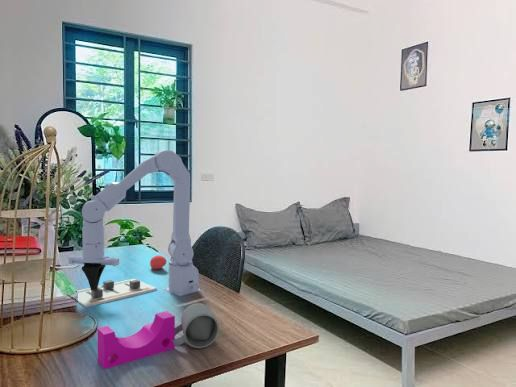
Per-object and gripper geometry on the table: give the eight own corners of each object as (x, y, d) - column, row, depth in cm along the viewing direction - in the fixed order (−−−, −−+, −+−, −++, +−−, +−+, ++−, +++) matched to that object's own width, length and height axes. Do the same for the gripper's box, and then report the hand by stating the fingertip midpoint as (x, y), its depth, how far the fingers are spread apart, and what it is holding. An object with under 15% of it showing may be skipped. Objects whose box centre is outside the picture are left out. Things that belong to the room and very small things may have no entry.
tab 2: (113, 287, 120) (113, 281, 120) (106, 289, 119) (106, 283, 118) (110, 286, 122) (110, 280, 122) (103, 287, 120) (103, 281, 120)
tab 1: (102, 296, 112) (102, 289, 112) (94, 298, 111) (94, 291, 110) (99, 294, 114) (99, 288, 114) (91, 296, 112) (91, 289, 112)
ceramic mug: (211, 326, 94) (210, 296, 92) (219, 345, 86) (218, 312, 85) (166, 335, 90) (164, 304, 89) (170, 354, 82) (168, 321, 81)
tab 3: (140, 287, 121) (140, 281, 121) (132, 289, 119) (132, 282, 119) (136, 285, 123) (136, 279, 122) (129, 287, 121) (129, 281, 121)
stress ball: (153, 275, 141) (153, 258, 140) (148, 269, 149) (148, 253, 148) (167, 273, 143) (167, 256, 143) (161, 267, 151) (161, 251, 151)
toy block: (161, 339, 89) (161, 307, 89) (174, 349, 85) (174, 316, 84) (93, 359, 80) (93, 324, 79) (104, 372, 75) (104, 334, 74)
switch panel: (156, 292, 122) (156, 287, 122) (85, 310, 106) (85, 304, 106) (134, 282, 131) (134, 277, 131) (65, 298, 115) (65, 292, 115)
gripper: (123, 240, 116) (124, 285, 116) (78, 239, 117) (78, 283, 118) (112, 245, 109) (112, 293, 109) (63, 243, 110) (64, 290, 111)
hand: (94, 288), depth 113 cm, fingers closed
